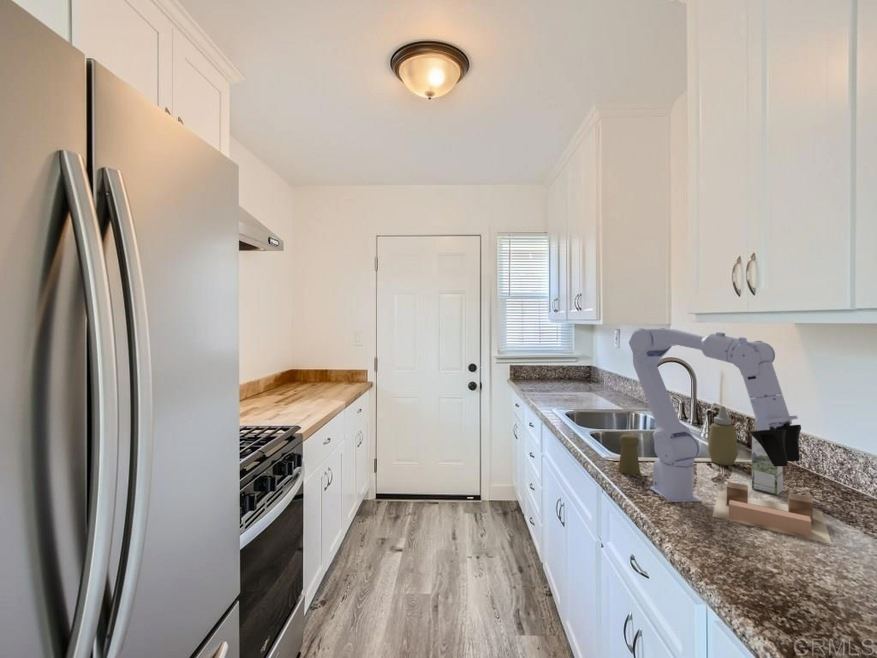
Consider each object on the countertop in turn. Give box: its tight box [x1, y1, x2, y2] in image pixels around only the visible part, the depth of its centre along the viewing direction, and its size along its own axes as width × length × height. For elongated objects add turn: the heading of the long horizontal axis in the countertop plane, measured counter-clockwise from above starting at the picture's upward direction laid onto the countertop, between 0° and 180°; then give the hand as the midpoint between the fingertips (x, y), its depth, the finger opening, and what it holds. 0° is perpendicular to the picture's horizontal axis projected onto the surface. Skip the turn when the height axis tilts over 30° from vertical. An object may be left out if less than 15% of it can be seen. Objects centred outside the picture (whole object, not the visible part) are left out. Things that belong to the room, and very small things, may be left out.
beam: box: [729, 500, 811, 536], centre depth 92 cm, size 14×3×3 cm, turn 52°
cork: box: [617, 433, 641, 476], centre depth 127 cm, size 6×6×11 cm
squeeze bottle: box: [707, 406, 739, 466], centre depth 134 cm, size 8×8×18 cm
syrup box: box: [751, 435, 784, 496], centre depth 113 cm, size 6×6×14 cm
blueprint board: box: [712, 481, 833, 545], centre depth 97 cm, size 20×18×5 cm
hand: (787, 463), depth 86 cm, fingers open, 7 cm apart
